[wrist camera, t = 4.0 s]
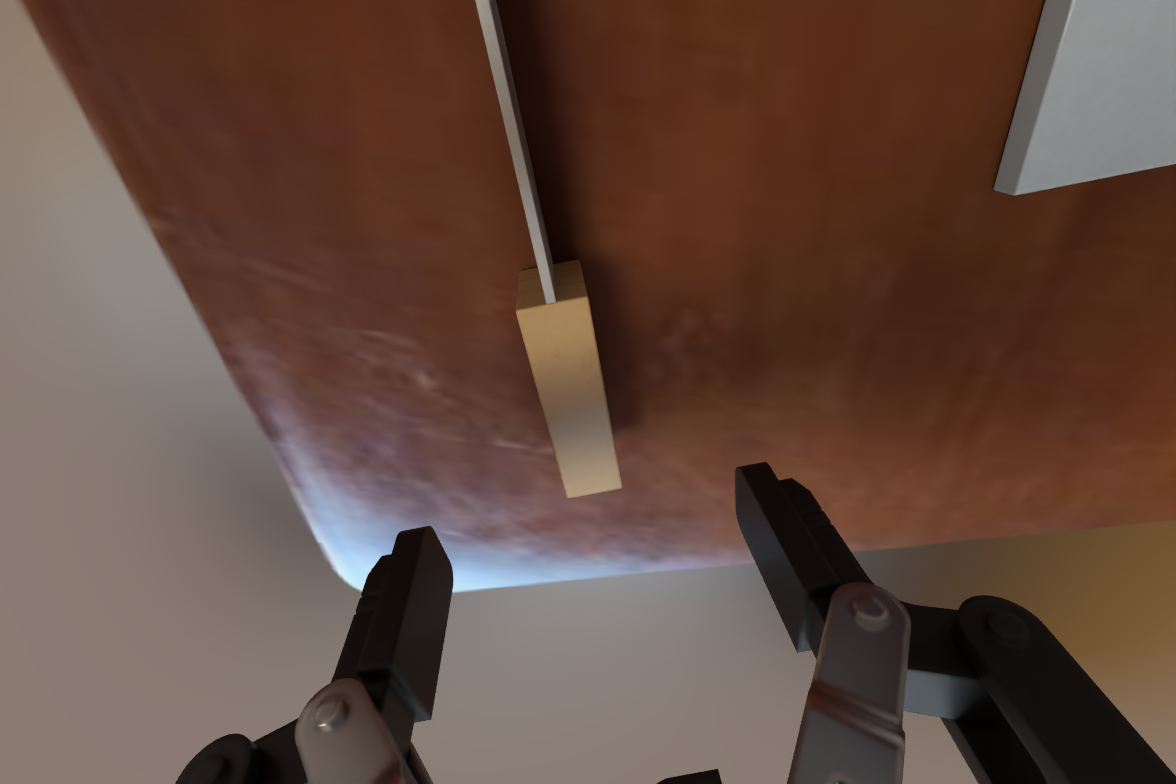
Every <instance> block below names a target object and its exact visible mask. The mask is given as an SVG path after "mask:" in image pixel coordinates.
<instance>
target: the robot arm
mask: <svg viewBox="0 0 1176 784" xmlns="http://www.w3.org/2000/svg"><path fill="white" fill-rule="evenodd" d="M735 497H736V515H737V519H738V523H739V526H740V529H741V532H742V534H743V536H744V538H745V540H746V543H747V545H748V547H749V549H750V551H751V553H752V556H753V558H754V560H755V562H756V564H757V566H758V569H759V571H760V573H761V575H762V577H763V579H764V582H765V584H766V586H767V588H768V590H769V592H770V595H771V597H772V599H773V601H774V603H775V605H776V608H777V610H778V612H779V614H780V616H781V618H782V621H783V623H784V625H785V627H786V629H787V631H788V633H789V635H790V638H791V640H792V642H793V644H794V647H795V649H796V651H797V653H798V652H804V651H809V650H812V651H813V653H814V655H815V658H816V660H817V662H816V666H815V671H814V675H813V679H812V683H811V687H810V689H809V692H808V696H807V700H806V704H805V708H804V713H803V717H802V721H801V726H800V730H799V734H798V738H797V743H796V747H795V752H794V756H793V760H792V765H791V769H790V773H789V777H788V781H787V784H902V778H903V766H904V754H905V733H904V731H903V729H902V719H903V711H908V712H913V713H919V714H925V715H930V716H936V717H940V718H941V719H942V721H943V723H944V725H945V726H946V728H947V730H948V732H949V733H950V735H951V737H952V738H953V740H954V742H955V743H956V745H957V747H958V749H959V751H960V752H961V754H962V756H963V757H964V759H965V761H966V763H967V764H968V766H969V768H970V769H971V771H972V773H973V775H974V776H975V778H976V780H977V782H978V783H979V784H1176V776H1175V775H1174V774H1173V773H1172V771H1171V770H1170V769H1169V768H1168V767H1167V766H1166V764H1165V763H1164V762H1163V761H1162V760H1161V759H1160V758H1159V757H1158V755H1157V754H1156V753H1155V752H1154V751H1153V750H1152V748H1151V747H1150V746H1149V745H1148V744H1147V743H1146V741H1145V740H1144V739H1143V738H1142V737H1141V736H1140V735H1139V733H1138V732H1137V731H1136V730H1135V729H1134V728H1133V727H1132V725H1131V724H1130V723H1129V722H1128V721H1127V720H1126V718H1125V717H1124V716H1123V715H1122V714H1121V713H1120V711H1119V710H1118V709H1117V708H1116V707H1115V706H1114V705H1113V704H1112V703H1111V701H1110V700H1109V699H1108V698H1107V697H1106V695H1105V694H1104V693H1103V692H1102V691H1101V690H1100V688H1099V687H1098V686H1097V685H1096V684H1095V683H1094V682H1093V680H1092V679H1091V678H1090V677H1089V676H1088V675H1087V674H1086V672H1085V671H1084V670H1083V669H1082V668H1081V667H1080V665H1079V664H1078V663H1077V662H1076V661H1075V660H1074V659H1073V657H1072V656H1071V655H1070V654H1069V653H1068V652H1067V651H1066V649H1065V648H1064V647H1063V646H1062V645H1061V643H1059V641H1058V640H1057V639H1056V638H1055V637H1054V635H1053V634H1052V633H1051V632H1050V631H1049V630H1048V628H1047V627H1046V626H1045V625H1044V624H1043V623H1042V622H1041V621H1040V620H1039V619H1038V618H1037V617H1036V616H1034V615H1033V614H1032V613H1031V612H1029V611H1028V610H1026V609H1025V608H1023V607H1021V606H1019V605H1018V604H1015V603H1013V602H1011V601H1009V600H1005V599H1002V598H999V597H994V596H986V595H983V596H974V597H971V598H969V599H967V600H965V601H964V602H963V603H962V604H961V606H960V608H959V610H953V609H944V608H936V607H926V606H919V605H913V604H909V603H906V602H903V601H900V600H898V599H897V598H896V597H895V596H894V595H892V594H891V593H890V592H888V591H886V590H885V589H883V588H881V587H878V586H876V585H875V584H874V583H873V582H872V581H871V580H870V579H869V577H868V576H867V575H866V573H865V572H864V570H863V569H862V568H861V566H860V564H859V563H858V561H857V560H856V559H855V557H854V556H853V554H852V553H851V551H850V550H849V548H848V547H847V545H846V544H845V542H844V541H843V539H842V538H841V536H840V535H839V533H838V532H837V530H836V529H835V527H834V526H833V525H831V523H830V520H829V519H828V517H827V516H826V514H825V513H824V511H822V510H821V507H820V505H819V504H818V502H817V501H816V499H815V498H814V496H813V495H812V493H811V492H810V491H809V490H808V489H806V488H805V487H804V486H802V485H801V484H799V483H798V482H797V481H795V480H794V479H792V478H790V479H784V480H778V479H777V477H776V475H775V474H774V472H773V471H772V469H771V467H770V466H769V464H768V463H766V462H762V463H757V464H751V465H746V466H741V467H737V468H736V471H735ZM452 589H453V571H452V566H451V563H450V561H449V559H448V557H447V555H446V553H445V551H444V549H443V547H442V545H441V543H440V541H439V539H438V537H437V535H436V533H435V531H434V530H433V528H432V527H431V526H426V527H421V528H416V529H410V530H405V531H401V532H399V534H398V535H397V538H396V541H395V544H394V548H393V551H392V554H390V555H385V556H381V558H380V559H379V561H378V562H377V563H376V565H375V566H374V567H373V569H372V570H371V571H370V573H369V574H368V576H367V579H366V582H365V585H364V588H363V591H362V594H361V595H362V598H360V600H359V603H358V606H357V609H356V615H354V617H353V621H352V623H351V626H350V629H349V632H348V635H347V638H346V641H345V644H344V647H343V650H342V652H341V656H340V658H339V661H338V665H337V667H336V670H335V673H334V676H333V678H332V681H331V683H330V684H329V685H326V686H325V687H324V688H322V689H321V690H320V691H319V692H317V693H316V694H315V695H314V696H313V697H312V698H311V699H310V701H309V702H308V703H307V705H306V706H305V708H304V709H303V711H302V713H301V715H300V717H299V718H297V719H296V720H294V721H292V722H290V723H289V724H287V725H285V726H283V727H281V728H279V729H277V730H275V731H273V732H271V733H269V734H268V735H265V736H264V737H262V738H260V739H258V740H256V741H254V742H252V741H250V740H249V739H248V738H247V737H245V736H244V735H241V734H229V735H226V736H223V737H221V738H219V739H217V740H215V741H213V742H212V743H210V744H209V745H207V746H206V747H205V748H204V749H202V750H201V751H200V752H199V753H198V754H197V755H196V756H195V757H194V758H193V759H192V760H191V761H190V762H189V764H188V765H187V766H186V767H185V769H184V770H183V772H182V773H181V775H180V776H179V778H178V780H177V781H176V783H175V784H433V782H432V780H431V778H430V776H429V774H428V772H427V770H426V768H425V766H424V765H423V763H422V761H421V759H420V757H419V755H418V753H417V751H416V749H415V748H414V746H413V744H412V742H411V736H412V730H413V725H414V723H415V722H420V721H425V720H431V717H432V711H433V705H434V699H435V693H436V686H437V681H438V674H439V668H440V662H441V656H442V650H443V644H444V638H445V631H446V626H447V619H448V613H449V607H450V601H451V595H452ZM657 784H722V782H721V779H720V775H719V771H718V769H715V770H709V771H704V772H699V773H693V774H687V775H682V776H677V777H671V778H666V779H664V780H662V781H661V782H659V783H657Z"/></svg>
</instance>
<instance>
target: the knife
mask: <svg viewBox="0 0 1176 784" xmlns="http://www.w3.org/2000/svg"><path fill="white" fill-rule="evenodd" d="M475 2H476V6H477V10H478V15H479V19H480V23H481V27H482V32H483V36H484V40H485V44H486V49H487V53H488V57H489V61H490V66H491V70H492V74H493V78H494V83H495V87H496V91H497V96H498V100H499V104H500V108H501V113H502V117H503V121H504V125H505V130H506V134H507V138H508V142H509V147H510V151H511V155H512V159H513V164H514V168H515V172H516V176H517V181H518V185H519V189H520V193H521V198H522V202H523V206H524V211H525V215H526V219H527V223H528V228H529V232H530V236H531V240H532V245H533V249H534V253H535V257H536V262H537V266H538V267H537V268H532V269H527V270H522V271H520V272H519V282H518V293H517V303H516V315H517V318H518V322H519V326H520V329H521V333H522V337H523V340H524V344H525V347H526V351H527V355H528V358H529V362H530V366H531V369H532V373H533V377H534V380H535V384H536V387H537V391H538V395H539V398H540V402H541V406H542V409H543V413H544V417H545V420H546V424H547V427H548V431H549V435H550V438H551V442H552V446H553V449H554V453H555V456H556V460H557V464H558V467H559V471H560V475H561V478H562V482H563V486H564V489H565V493H566V496H567V498H573V497H579V496H584V495H589V494H594V493H600V492H605V491H610V490H616V489H621V488H622V481H621V475H620V470H619V464H618V459H617V453H616V448H615V442H614V437H613V431H612V426H611V420H610V415H609V409H608V404H607V398H606V393H605V387H604V382H603V376H602V371H601V365H600V360H599V354H598V349H597V343H596V338H595V332H594V327H593V321H592V316H591V310H590V305H589V299H588V295H587V290H586V286H585V282H584V277H583V273H582V269H581V265H580V261H579V260H572V261H567V262H562V263H557V264H553V261H552V256H551V252H550V247H549V242H548V238H547V233H546V229H545V224H544V219H543V215H542V210H541V205H540V201H539V196H538V192H537V187H536V182H535V178H534V173H533V168H532V164H531V159H530V155H529V150H528V145H527V141H526V136H525V131H524V127H523V122H522V117H521V113H520V108H519V104H518V99H517V94H516V90H515V85H514V80H513V76H512V71H511V67H510V62H509V57H508V53H507V48H506V43H505V39H504V34H503V29H502V25H501V20H500V16H499V11H498V6H497V2H496V0H475Z"/></svg>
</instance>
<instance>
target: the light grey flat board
mask: <svg viewBox="0 0 1176 784" xmlns="http://www.w3.org/2000/svg"><path fill="white" fill-rule="evenodd" d="M1172 164H1176V0H1045V3H1044V6H1043V10H1042V14H1041V17H1040V21H1039V25H1038V28H1037V32H1036V36H1035V39H1034V43H1033V46H1032V50H1031V54H1030V57H1029V61H1028V65H1027V68H1026V72H1025V76H1024V79H1023V83H1022V86H1021V90H1020V94H1019V97H1018V101H1017V105H1016V108H1015V112H1014V115H1013V119H1012V123H1011V126H1010V130H1009V134H1008V137H1007V141H1006V145H1005V148H1004V152H1003V155H1002V159H1001V163H1000V166H999V170H998V174H997V177H996V181H995V185H994V188H993V189H994V190H995V191H999V192H1003V193H1007V194H1011V195H1020V194H1025V193H1031V192H1036V191H1041V190H1046V189H1051V188H1056V187H1061V186H1066V185H1071V184H1076V183H1081V182H1086V181H1091V180H1096V179H1101V178H1107V177H1112V176H1117V175H1122V174H1127V173H1132V172H1137V171H1142V170H1147V169H1152V168H1157V167H1162V166H1167V165H1172Z"/></svg>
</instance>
